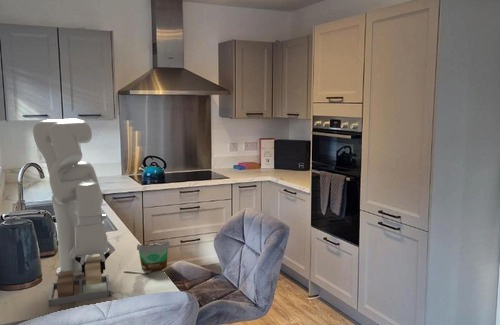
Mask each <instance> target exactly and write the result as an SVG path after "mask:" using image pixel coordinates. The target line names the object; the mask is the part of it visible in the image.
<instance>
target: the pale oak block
mask: <svg viewBox="0 0 500 325" xmlns="http://www.w3.org/2000/svg"><path fill="white" fill-rule="evenodd" d="M100 260H101V257H100V255H99V256H92V257H89V258H87V259H86V264H85V275H86V276H85V278H86V285H92V284H100V283H101V278H102V276H103V274H102V273H101V264H100Z"/></svg>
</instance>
